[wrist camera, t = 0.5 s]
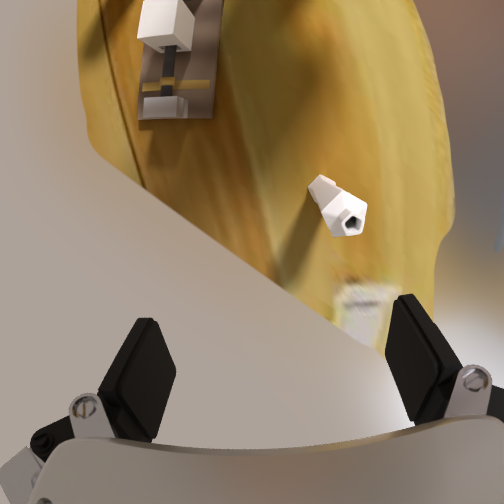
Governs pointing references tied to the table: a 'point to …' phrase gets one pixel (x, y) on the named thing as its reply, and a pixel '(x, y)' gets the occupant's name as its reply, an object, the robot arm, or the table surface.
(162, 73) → the linear slide rail
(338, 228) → the perfume bottle
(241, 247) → the table surface
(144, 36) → the notched white rod block
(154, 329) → the robot arm
